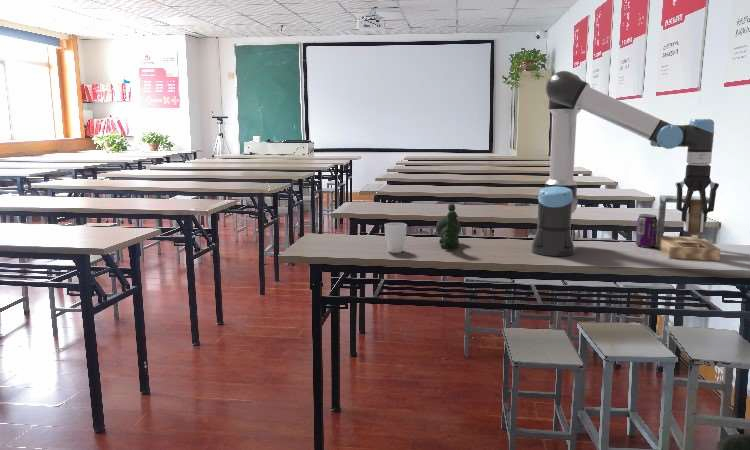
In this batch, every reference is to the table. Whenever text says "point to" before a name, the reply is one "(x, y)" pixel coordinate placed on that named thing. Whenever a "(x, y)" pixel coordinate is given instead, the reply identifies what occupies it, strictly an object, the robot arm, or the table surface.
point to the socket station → (683, 238)
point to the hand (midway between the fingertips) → (692, 230)
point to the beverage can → (646, 230)
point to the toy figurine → (449, 229)
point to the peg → (694, 217)
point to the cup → (395, 236)
